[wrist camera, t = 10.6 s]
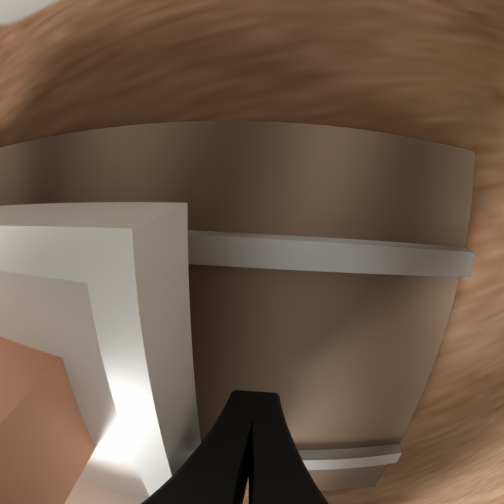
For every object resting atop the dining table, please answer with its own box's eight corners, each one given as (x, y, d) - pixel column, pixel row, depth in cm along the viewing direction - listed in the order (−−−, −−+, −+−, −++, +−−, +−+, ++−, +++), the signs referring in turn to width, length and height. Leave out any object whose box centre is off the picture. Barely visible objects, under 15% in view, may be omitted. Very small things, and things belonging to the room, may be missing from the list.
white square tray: (204, 195, 8) (132, 228, 4) (215, 480, 11) (200, 556, 7) (-40, 203, 8) (-113, 226, 4) (25, 423, 12) (-12, 469, 8)
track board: (459, 151, 8) (514, 152, 6) (371, 472, 13) (380, 514, 10) (-86, 177, 10) (-116, 184, 7) (-39, 380, 15) (-59, 398, 12)
